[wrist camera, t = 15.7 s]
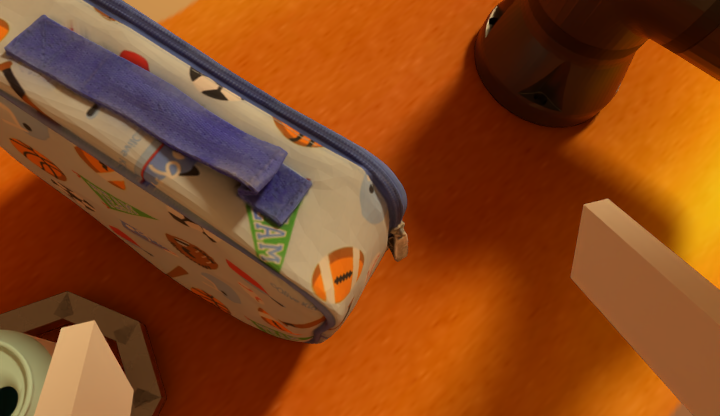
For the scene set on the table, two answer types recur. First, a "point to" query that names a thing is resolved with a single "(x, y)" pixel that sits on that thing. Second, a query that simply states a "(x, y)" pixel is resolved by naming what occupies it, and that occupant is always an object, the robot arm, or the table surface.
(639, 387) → the table surface
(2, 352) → the can
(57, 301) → the ring
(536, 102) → the robot arm
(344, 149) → the lunch box
